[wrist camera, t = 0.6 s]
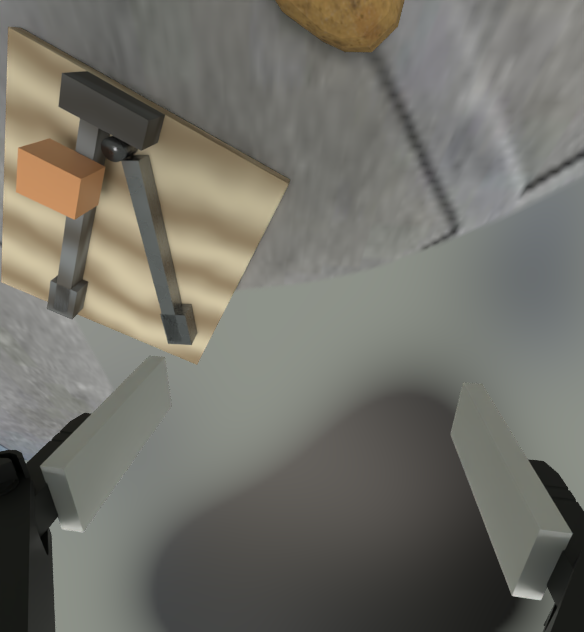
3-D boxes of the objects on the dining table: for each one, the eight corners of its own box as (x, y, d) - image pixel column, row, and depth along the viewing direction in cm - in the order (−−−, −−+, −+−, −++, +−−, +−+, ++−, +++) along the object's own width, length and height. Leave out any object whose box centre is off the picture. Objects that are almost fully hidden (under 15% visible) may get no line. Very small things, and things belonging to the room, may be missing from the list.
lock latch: (49, 138, 32) (17, 147, 29) (105, 166, 33) (80, 178, 30) (45, 179, 34) (15, 192, 31) (98, 204, 35) (74, 219, 32)
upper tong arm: (114, 131, 34) (97, 137, 31) (156, 131, 33) (142, 137, 31) (167, 331, 47) (158, 346, 45) (197, 333, 47) (190, 348, 45)
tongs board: (21, 28, 31) (-27, 23, 27) (290, 179, 36) (284, 195, 32) (9, 276, 47) (-22, 297, 42) (200, 357, 52) (188, 383, 48)
